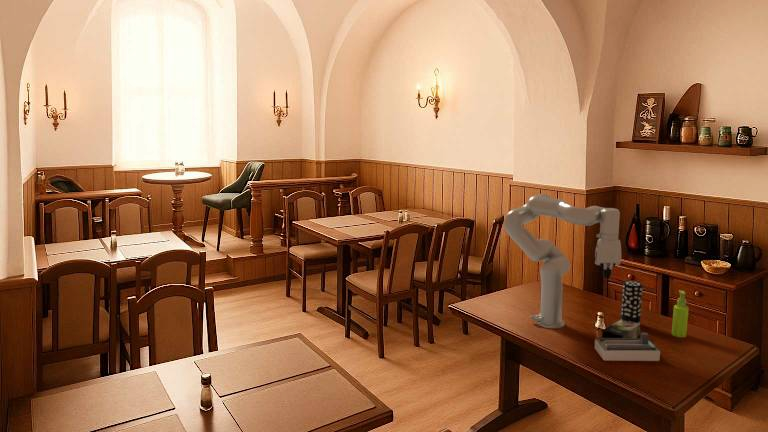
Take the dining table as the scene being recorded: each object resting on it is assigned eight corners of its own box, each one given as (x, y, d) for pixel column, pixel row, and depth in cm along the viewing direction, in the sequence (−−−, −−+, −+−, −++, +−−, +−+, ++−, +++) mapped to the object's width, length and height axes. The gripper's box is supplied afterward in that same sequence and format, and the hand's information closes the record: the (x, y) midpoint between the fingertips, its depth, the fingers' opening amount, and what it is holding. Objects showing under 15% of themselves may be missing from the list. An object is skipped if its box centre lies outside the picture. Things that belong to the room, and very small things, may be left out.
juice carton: (619, 329, 266) (620, 316, 265) (641, 335, 259) (642, 322, 258) (600, 342, 252) (601, 329, 251) (622, 349, 246) (623, 335, 244)
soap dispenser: (684, 332, 261) (688, 290, 258) (687, 338, 255) (691, 294, 251) (670, 330, 263) (673, 288, 260) (672, 336, 257) (676, 293, 253)
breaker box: (603, 360, 234) (604, 348, 233) (594, 348, 245) (595, 336, 244) (659, 360, 233) (660, 348, 232) (647, 348, 244) (648, 337, 243)
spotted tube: (642, 327, 267) (645, 286, 264) (624, 327, 268) (627, 286, 264) (635, 321, 276) (638, 280, 272) (617, 321, 276) (620, 281, 272)
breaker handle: (642, 346, 237) (642, 334, 236) (639, 344, 239) (640, 332, 238) (648, 346, 237) (648, 334, 236) (645, 344, 239) (646, 332, 238)
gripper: (594, 238, 247) (591, 280, 250) (629, 238, 246) (627, 280, 250) (588, 234, 254) (586, 275, 258) (623, 234, 254) (620, 275, 257)
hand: (606, 277), depth 254 cm, fingers closed
